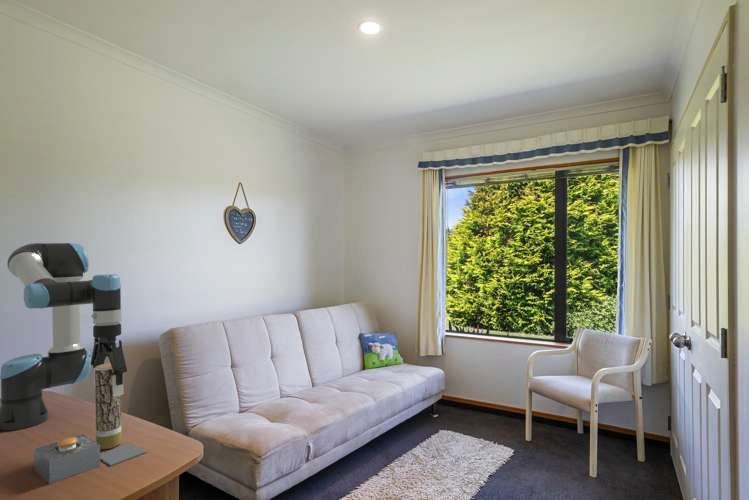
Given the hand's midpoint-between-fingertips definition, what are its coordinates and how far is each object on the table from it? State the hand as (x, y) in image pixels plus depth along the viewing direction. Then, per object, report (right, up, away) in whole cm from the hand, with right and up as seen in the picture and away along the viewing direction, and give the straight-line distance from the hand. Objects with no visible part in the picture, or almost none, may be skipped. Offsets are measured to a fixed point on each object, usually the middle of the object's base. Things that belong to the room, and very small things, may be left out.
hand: (108, 391), depth 135 cm
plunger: (-3, -16, -14) cm, 21 cm away
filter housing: (-3, -17, -14) cm, 22 cm away
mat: (+8, -17, -6) cm, 19 cm away
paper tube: (0, -17, 0) cm, 17 cm away
